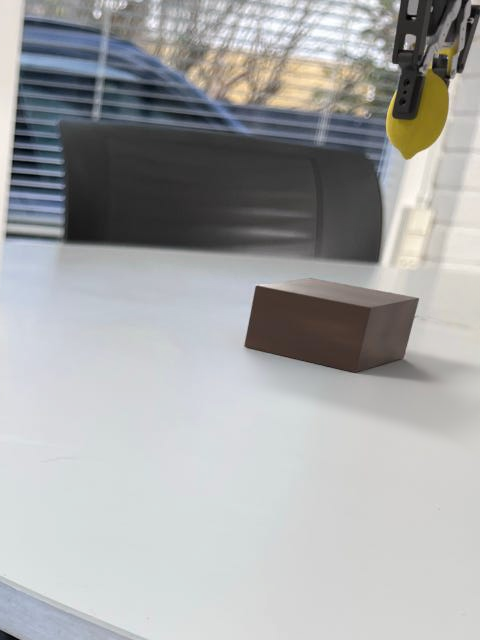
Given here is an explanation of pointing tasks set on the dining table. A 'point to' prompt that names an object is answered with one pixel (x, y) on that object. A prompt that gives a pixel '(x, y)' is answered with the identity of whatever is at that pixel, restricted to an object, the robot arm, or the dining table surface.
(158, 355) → the dining table surface
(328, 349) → the block
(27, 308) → the dining table surface
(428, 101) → the lemon
